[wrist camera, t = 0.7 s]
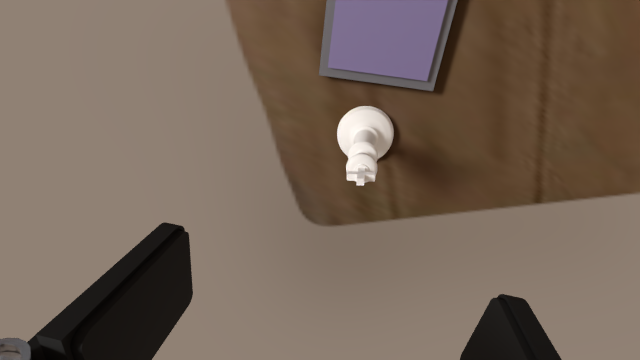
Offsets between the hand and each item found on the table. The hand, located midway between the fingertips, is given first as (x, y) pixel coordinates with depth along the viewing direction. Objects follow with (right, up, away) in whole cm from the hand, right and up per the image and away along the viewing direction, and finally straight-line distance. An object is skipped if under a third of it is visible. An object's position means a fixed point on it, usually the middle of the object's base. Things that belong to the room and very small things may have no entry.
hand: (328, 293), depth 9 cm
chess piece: (+4, +8, +17) cm, 19 cm away
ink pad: (+5, +16, +13) cm, 21 cm away
